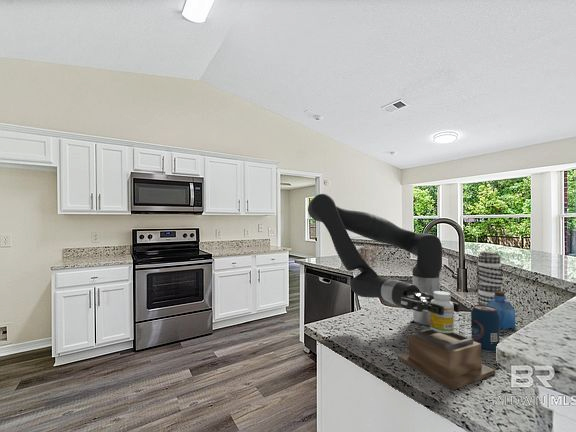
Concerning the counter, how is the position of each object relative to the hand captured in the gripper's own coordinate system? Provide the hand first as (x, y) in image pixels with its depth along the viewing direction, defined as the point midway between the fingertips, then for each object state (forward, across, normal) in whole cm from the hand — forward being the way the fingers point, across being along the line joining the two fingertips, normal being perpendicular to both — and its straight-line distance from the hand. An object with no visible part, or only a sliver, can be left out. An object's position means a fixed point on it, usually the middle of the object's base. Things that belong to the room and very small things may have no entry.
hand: (450, 309), depth 72 cm
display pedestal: (-2, 0, +16) cm, 16 cm away
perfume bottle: (-13, +45, +16) cm, 50 cm away
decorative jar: (-141, +92, +17) cm, 170 cm away
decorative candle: (-24, +58, +16) cm, 65 cm away
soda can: (-4, +21, +16) cm, 27 cm away
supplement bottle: (-3, 0, +6) cm, 7 cm away
